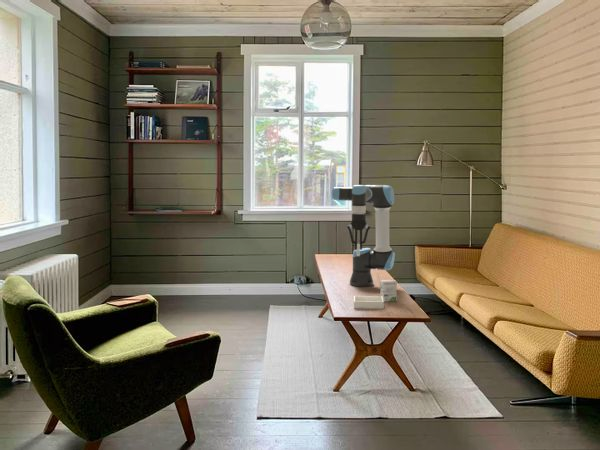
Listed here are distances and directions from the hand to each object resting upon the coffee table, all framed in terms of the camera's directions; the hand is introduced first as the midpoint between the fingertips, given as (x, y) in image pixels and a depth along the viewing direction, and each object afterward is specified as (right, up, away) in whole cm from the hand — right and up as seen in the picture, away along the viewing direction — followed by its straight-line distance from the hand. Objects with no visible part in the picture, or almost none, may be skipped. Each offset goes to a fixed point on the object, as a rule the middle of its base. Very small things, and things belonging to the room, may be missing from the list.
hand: (358, 255), depth 345 cm
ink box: (+19, -27, +15) cm, 36 cm away
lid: (+12, -16, +1) cm, 20 cm away
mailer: (+6, -28, +3) cm, 29 cm away
